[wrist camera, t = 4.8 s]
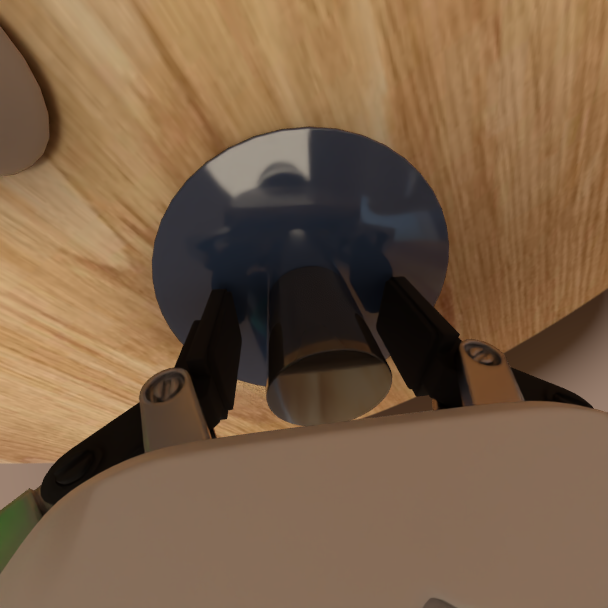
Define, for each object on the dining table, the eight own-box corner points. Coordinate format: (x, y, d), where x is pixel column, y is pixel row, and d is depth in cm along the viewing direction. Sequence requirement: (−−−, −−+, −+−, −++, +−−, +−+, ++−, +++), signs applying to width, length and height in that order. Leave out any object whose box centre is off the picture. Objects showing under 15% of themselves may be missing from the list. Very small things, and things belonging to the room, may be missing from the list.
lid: (483, 126, 9) (747, 113, 4) (400, 364, 17) (454, 457, 12) (98, 129, 8) (-208, 117, 3) (205, 384, 16) (175, 498, 11)
